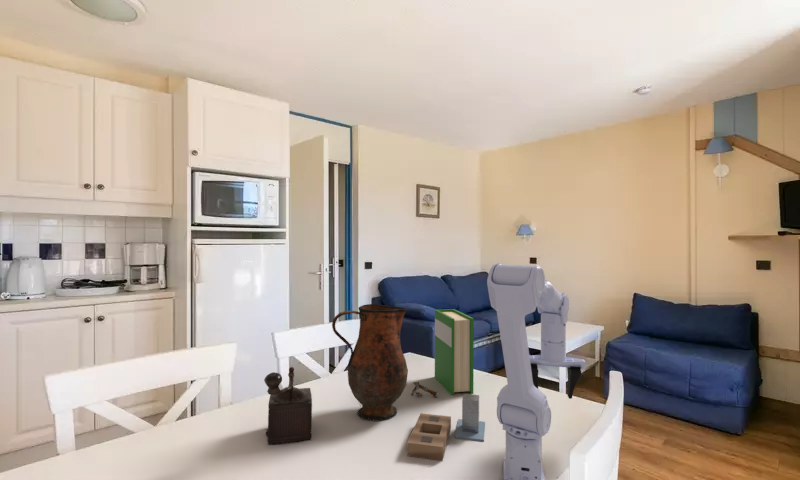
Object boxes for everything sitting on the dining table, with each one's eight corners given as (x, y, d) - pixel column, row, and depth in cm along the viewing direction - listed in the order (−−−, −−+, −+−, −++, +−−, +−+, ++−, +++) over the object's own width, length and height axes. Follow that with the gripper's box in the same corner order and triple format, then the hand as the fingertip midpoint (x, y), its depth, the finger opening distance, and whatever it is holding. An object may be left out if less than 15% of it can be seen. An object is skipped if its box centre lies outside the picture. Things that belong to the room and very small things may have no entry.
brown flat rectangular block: (442, 460, 88) (442, 446, 88) (407, 455, 90) (407, 442, 90) (450, 428, 104) (451, 416, 104) (420, 424, 106) (420, 412, 106)
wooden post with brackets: (408, 391, 127) (414, 379, 127) (432, 403, 126) (438, 390, 126) (408, 394, 125) (414, 381, 125) (431, 405, 124) (437, 392, 124)
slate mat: (483, 441, 97) (483, 439, 97) (454, 437, 99) (454, 436, 99) (485, 423, 107) (485, 421, 107) (458, 420, 109) (458, 418, 109)
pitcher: (415, 422, 107) (415, 310, 107) (334, 432, 102) (335, 313, 102) (399, 399, 123) (399, 301, 123) (328, 406, 118) (329, 303, 118)
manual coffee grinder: (267, 426, 105) (267, 357, 105) (310, 421, 107) (311, 354, 107) (262, 457, 90) (263, 376, 90) (313, 451, 92) (313, 372, 92)
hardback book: (473, 393, 128) (473, 318, 128) (451, 395, 126) (451, 319, 127) (454, 375, 145) (454, 309, 145) (434, 376, 144) (434, 309, 144)
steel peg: (478, 433, 100) (478, 401, 100) (462, 431, 101) (462, 399, 101) (479, 426, 104) (479, 395, 104) (463, 424, 105) (463, 393, 105)
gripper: (581, 338, 101) (581, 392, 101) (521, 335, 105) (521, 387, 105) (587, 345, 94) (587, 403, 94) (523, 341, 98) (523, 397, 98)
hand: (553, 395), depth 99 cm, fingers open, 7 cm apart
